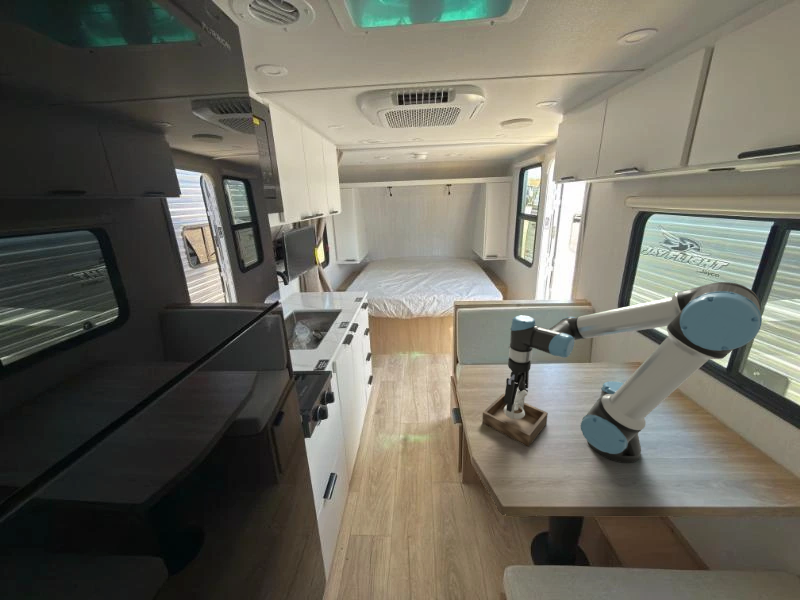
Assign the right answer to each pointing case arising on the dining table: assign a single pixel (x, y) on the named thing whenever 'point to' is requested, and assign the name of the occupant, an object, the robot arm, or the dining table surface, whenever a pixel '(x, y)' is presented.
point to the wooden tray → (515, 421)
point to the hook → (517, 399)
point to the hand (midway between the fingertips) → (514, 411)
